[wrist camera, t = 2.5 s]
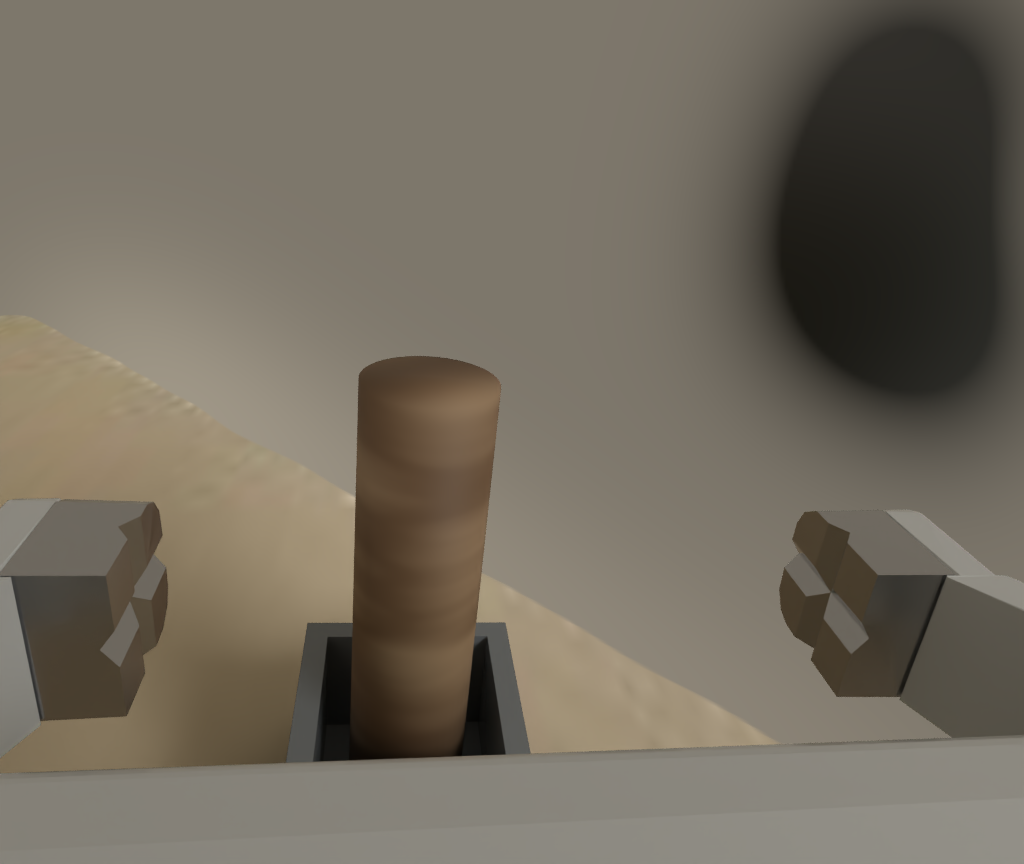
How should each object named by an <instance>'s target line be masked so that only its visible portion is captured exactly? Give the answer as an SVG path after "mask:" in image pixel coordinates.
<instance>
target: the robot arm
mask: <svg viewBox="0 0 1024 864" xmlns="http://www.w3.org/2000/svg"><path fill="white" fill-rule="evenodd" d="M161 537H162V528H161V521H160V514H159V510H158V508H157V507H156V505H155V503H154V502H136V501H103V500H71V499H64V500H61V499H59V498H43V499H13V500H8V501H7V502H6V503H5V504H4V505H3V506H2V507H1V508H0V758H1V757H2V756H4V755H5V754H6V753H7V752H8V751H10V750H11V749H12V748H13V747H15V746H16V745H17V744H18V743H19V742H21V741H22V740H23V739H24V738H26V737H27V736H28V735H29V734H31V733H32V732H33V731H34V730H35V729H37V728H38V727H39V726H40V725H41V722H40V721H48V720H67V719H85V718H104V717H123V716H127V714H128V712H129V709H130V707H131V705H132V702H133V700H134V698H135V695H136V693H137V691H138V688H139V686H140V684H141V681H142V679H143V676H144V674H145V669H144V660H143V655H144V654H145V653H146V652H148V651H149V650H151V649H152V648H154V647H155V646H156V645H157V643H158V640H159V637H160V635H161V632H162V630H163V626H164V620H165V615H166V609H167V596H168V583H167V572H166V567H165V566H164V565H163V564H162V563H161V562H160V561H159V560H158V559H157V557H156V556H155V555H154V552H155V550H156V548H157V546H158V544H159V542H160V539H161ZM792 540H793V542H794V544H795V546H796V548H797V550H798V552H799V554H798V555H797V556H796V557H795V558H794V559H793V560H792V561H791V562H790V563H789V564H788V565H787V566H786V567H784V571H783V576H782V580H781V584H780V589H779V591H780V605H781V611H782V614H783V617H784V620H785V622H786V624H787V626H788V627H789V629H790V630H791V632H792V633H793V635H794V636H795V637H796V638H798V639H800V640H801V641H803V642H804V643H806V644H808V645H809V646H811V647H813V648H814V650H813V654H812V658H811V661H812V662H813V664H814V665H815V666H816V668H817V669H818V671H819V672H820V674H821V675H822V676H823V678H824V679H825V681H826V682H827V684H828V685H829V686H830V688H831V689H832V691H833V692H834V693H835V695H836V696H837V697H900V700H901V701H902V702H903V703H905V704H906V705H908V706H909V707H910V708H912V709H913V710H915V711H916V712H918V713H919V714H920V715H921V716H923V717H924V718H926V719H927V720H929V721H930V722H931V723H933V724H934V725H935V726H937V727H938V728H940V729H941V730H942V731H944V732H945V733H946V734H948V735H949V736H951V737H952V738H934V739H910V740H909V739H907V740H883V741H854V742H829V743H802V744H775V745H748V746H722V747H695V748H669V749H642V750H615V751H588V752H562V753H535V754H508V755H481V756H454V757H428V758H401V759H374V760H347V761H321V762H294V763H267V764H240V765H214V766H187V767H160V768H133V769H107V770H80V771H53V772H26V773H0V864H1024V583H1023V582H1020V581H1018V580H1015V579H1013V578H1011V577H1008V576H995V575H994V574H993V573H992V572H991V571H989V570H988V569H987V568H986V567H984V565H982V564H981V563H980V562H979V561H978V560H976V559H975V558H974V557H973V556H972V555H970V554H969V553H968V552H967V551H966V550H965V549H963V548H962V547H961V546H960V545H959V544H957V543H956V542H955V541H954V540H953V539H952V538H950V537H949V536H948V535H947V534H945V533H944V532H943V531H942V530H941V529H940V528H938V527H937V526H936V525H935V524H934V523H933V522H931V521H930V520H929V519H928V518H927V517H925V516H924V515H923V514H922V513H920V512H916V511H913V510H862V511H861V510H860V511H811V512H804V514H803V515H802V517H801V518H800V520H799V521H798V522H797V525H796V528H795V532H794V535H793V539H792Z"/></svg>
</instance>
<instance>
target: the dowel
mask: <svg viewBox="0 0 1024 864" xmlns="http://www.w3.org/2000/svg"><path fill="white" fill-rule="evenodd" d="M500 393H501V384H500V382H499V380H498V379H497V378H496V377H495V376H494V375H493V374H491V373H490V372H488V371H487V370H485V369H483V368H480V367H478V366H475V365H472V364H469V363H466V362H462V361H458V360H453V359H448V358H440V357H429V356H427V357H426V356H407V357H397V358H390V359H386V360H382V361H378V362H375V363H373V364H371V365H369V366H367V367H366V368H364V369H363V370H362V371H361V372H360V374H359V386H358V426H357V427H358V428H357V468H356V508H355V549H354V589H353V630H352V671H351V711H350V752H349V760H374V759H401V758H428V757H454V756H462V750H463V741H464V731H465V722H466V713H467V703H468V694H469V684H470V675H471V666H472V656H473V647H474V637H475V628H476V619H477V609H478V600H479V590H480V581H481V572H482V562H483V553H484V544H485V534H486V525H487V524H486V523H487V515H488V506H489V497H490V487H491V478H492V468H493V459H494V450H495V439H496V431H497V420H498V412H499V402H500Z"/></svg>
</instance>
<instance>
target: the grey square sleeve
mask: <svg viewBox="0 0 1024 864" xmlns="http://www.w3.org/2000/svg"><path fill="white" fill-rule="evenodd" d="M352 630H353V623H308V624H307V630H306V637H305V643H304V650H303V656H302V663H301V669H300V675H299V682H298V688H297V695H296V701H295V707H294V714H293V720H292V727H291V733H290V740H289V746H288V752H287V759H286V763H294V762H321V761H347V760H349V752H350V711H351V671H352ZM508 754H530V748H529V743H528V738H527V733H526V728H525V722H524V717H523V712H522V707H521V702H520V697H519V691H518V686H517V681H516V676H515V671H514V665H513V660H512V655H511V650H510V645H509V639H508V634H507V629H506V624H505V623H476V628H475V637H474V647H473V656H472V666H471V675H470V684H469V694H468V703H467V713H466V722H465V731H464V741H463V750H462V756H481V755H508Z"/></svg>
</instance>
